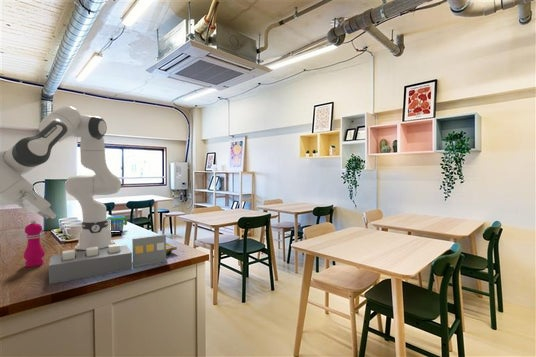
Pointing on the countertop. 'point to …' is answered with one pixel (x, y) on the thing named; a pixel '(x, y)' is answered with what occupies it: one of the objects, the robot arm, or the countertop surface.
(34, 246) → the pepper mill
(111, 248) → the key right
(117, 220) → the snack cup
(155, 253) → the card
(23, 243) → the countertop surface
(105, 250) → the console
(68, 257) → the key left
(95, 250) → the key middle
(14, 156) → the robot arm
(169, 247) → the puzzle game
